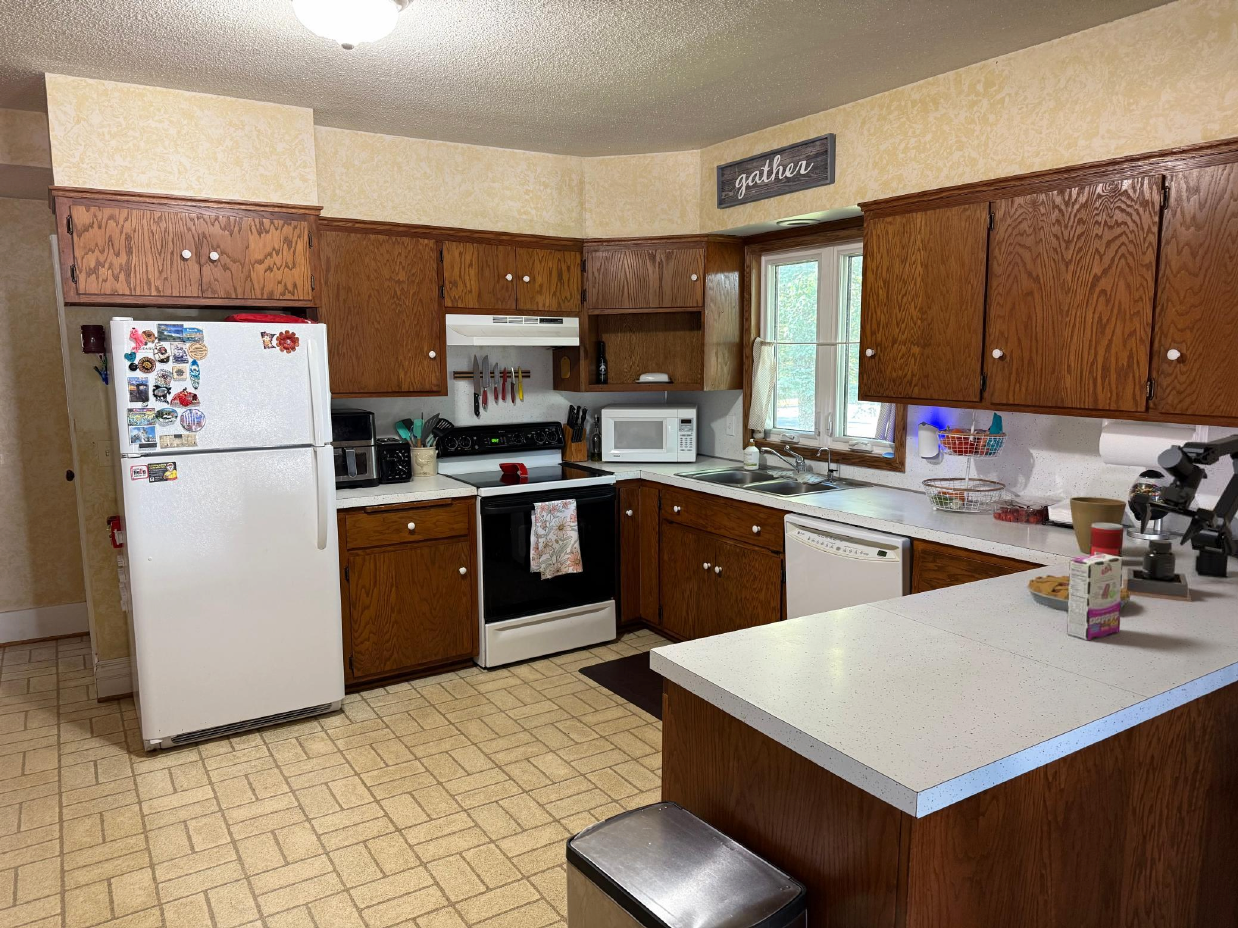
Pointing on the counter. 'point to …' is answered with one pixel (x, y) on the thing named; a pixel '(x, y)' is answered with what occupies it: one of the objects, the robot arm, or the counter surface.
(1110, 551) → the canned food
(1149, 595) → the grey square tray
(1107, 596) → the candy bar box
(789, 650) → the counter surface
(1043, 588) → the pie
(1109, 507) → the plant pot
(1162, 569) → the supplement bottle
